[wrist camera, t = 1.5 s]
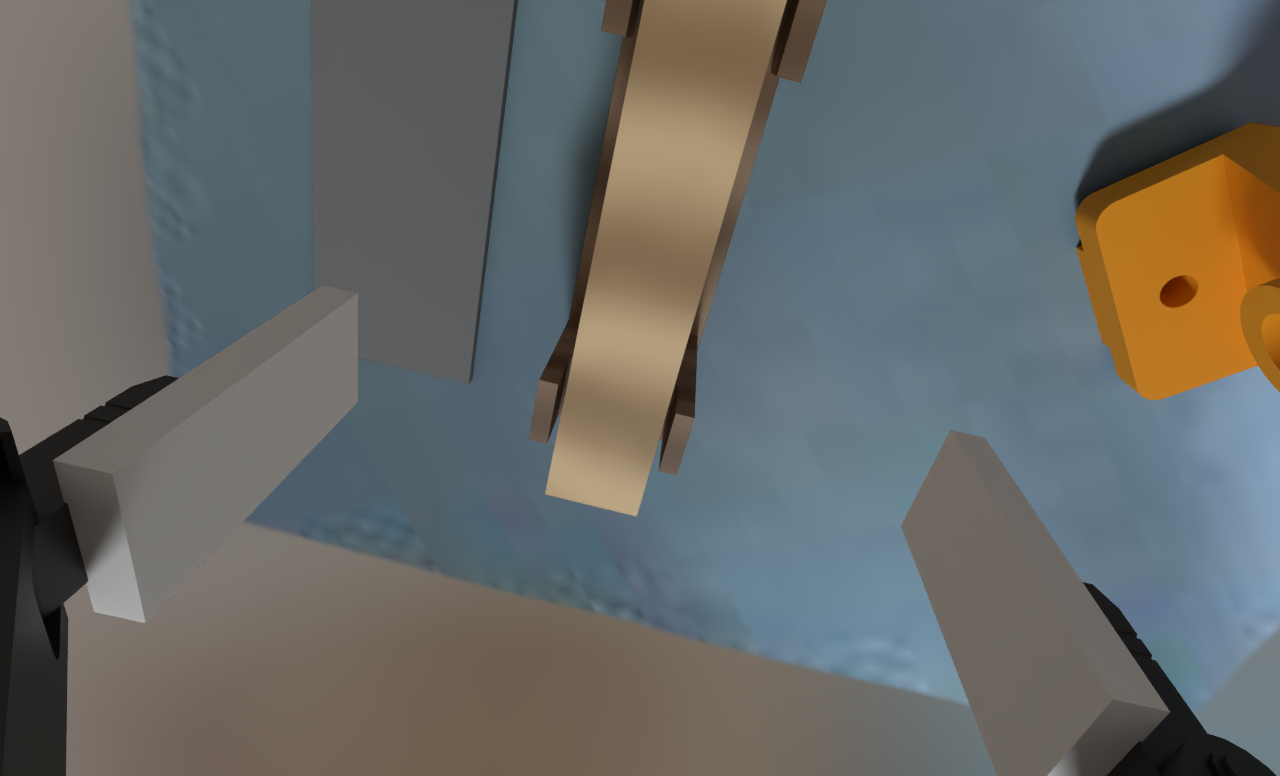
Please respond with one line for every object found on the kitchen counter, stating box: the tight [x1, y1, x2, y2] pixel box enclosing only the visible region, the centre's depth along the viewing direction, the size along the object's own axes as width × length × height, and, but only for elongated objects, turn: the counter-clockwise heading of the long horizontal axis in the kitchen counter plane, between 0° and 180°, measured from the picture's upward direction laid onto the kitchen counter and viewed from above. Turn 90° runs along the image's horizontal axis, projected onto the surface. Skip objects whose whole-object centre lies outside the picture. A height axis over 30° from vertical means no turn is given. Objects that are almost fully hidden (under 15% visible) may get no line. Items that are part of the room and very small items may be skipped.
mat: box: [311, 0, 518, 384], centre depth 32 cm, size 26×9×1 cm, turn 167°
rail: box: [545, 0, 787, 516], centre depth 25 cm, size 22×4×4 cm, turn 167°
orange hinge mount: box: [1075, 122, 1280, 400], centre depth 27 cm, size 11×7×12 cm, turn 29°
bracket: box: [529, 0, 827, 475], centre depth 29 cm, size 22×7×10 cm, turn 167°
